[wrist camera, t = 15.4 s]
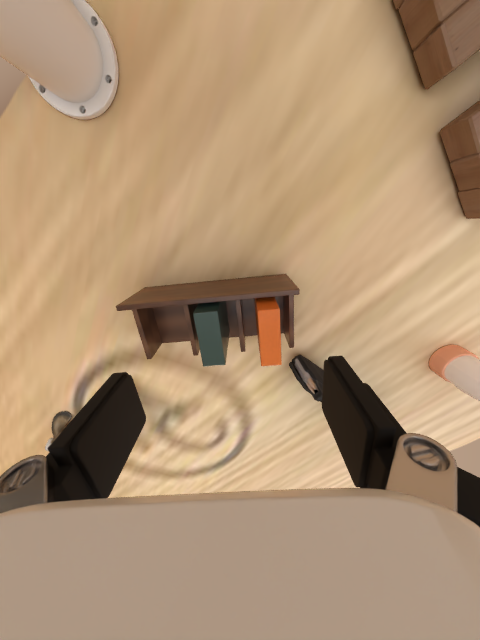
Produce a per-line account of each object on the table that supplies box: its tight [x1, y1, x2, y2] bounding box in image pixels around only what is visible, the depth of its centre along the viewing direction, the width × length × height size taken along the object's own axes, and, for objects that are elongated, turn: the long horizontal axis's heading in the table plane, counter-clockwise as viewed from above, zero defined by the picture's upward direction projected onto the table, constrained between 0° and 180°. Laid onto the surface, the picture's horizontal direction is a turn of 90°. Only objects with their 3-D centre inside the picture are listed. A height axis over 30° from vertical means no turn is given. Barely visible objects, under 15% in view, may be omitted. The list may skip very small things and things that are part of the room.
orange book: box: [254, 297, 281, 366], centre depth 38 cm, size 9×3×13 cm, turn 6°
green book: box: [193, 301, 230, 367], centre depth 39 cm, size 9×4×12 cm, turn 6°
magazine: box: [289, 355, 324, 402], centre depth 48 cm, size 17×3×30 cm
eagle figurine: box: [45, 411, 72, 451], centre depth 55 cm, size 8×7×9 cm
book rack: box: [116, 274, 299, 359], centre depth 40 cm, size 12×27×11 cm, turn 96°
